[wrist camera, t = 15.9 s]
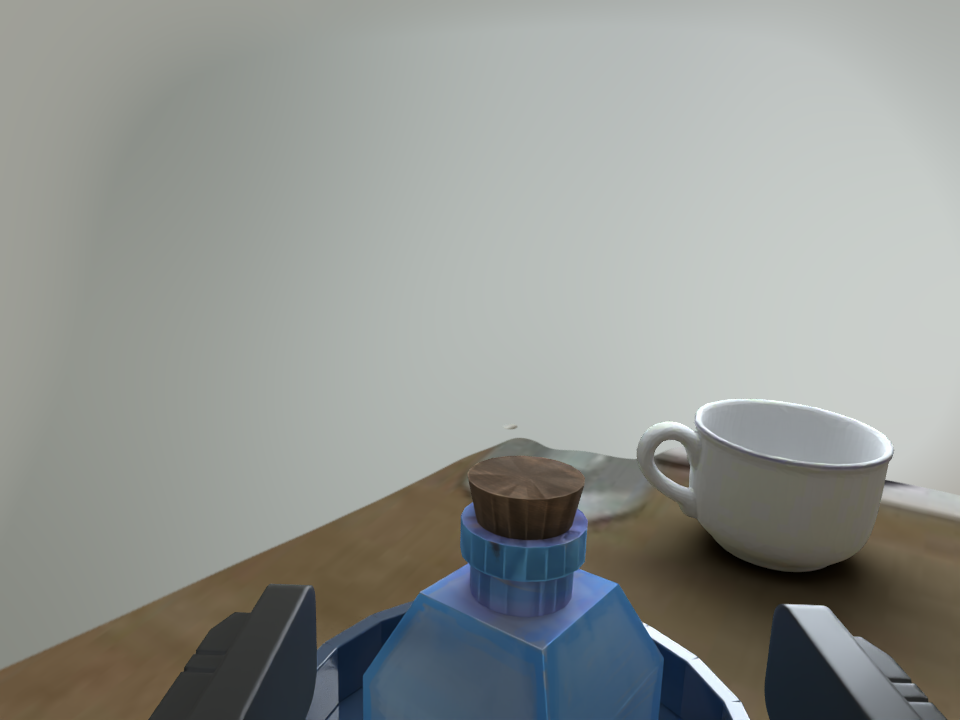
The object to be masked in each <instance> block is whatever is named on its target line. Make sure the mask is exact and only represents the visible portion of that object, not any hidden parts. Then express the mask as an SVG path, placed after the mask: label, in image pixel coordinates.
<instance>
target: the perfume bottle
mask: <svg viewBox="0 0 960 720" xmlns="http://www.w3.org/2000/svg"><path fill="white" fill-rule="evenodd" d="M467 474H468V479H469V485H470V490H471V495H472V500H473V502H472V503H471V504H470V505H468V506H467V507H465V509H464V511H463V513H462V515H461V541H460V548H461V553H462V557H463V558H464V559H465V560H466V561H467V562H468V564H466V565H465V566H463V567H461V568H460V569H458V570H456V571H455V572H453V573H451V574H450V575H448V576H446V577H445V578H443V579H441V580H440V581H438V582H436V583H435V584H433V585H431V586H430V587H428V588H426V589H425V590H423V591H421V592H420V593H419V594H418V596H417V597H416V599H415V600H414V602H413V603H412V605H411V606H410V608H409V609H408V611H407V612H406V613H405V615H404V616H403V618H402V619H401V621H400V622H399V624H398V625H397V627H396V628H395V630H394V631H393V632H392V634H391V635H390V637H389V638H388V640H387V641H386V643H385V644H384V646H383V647H382V649H381V650H380V651H379V653H378V654H377V656H376V657H375V659H374V660H373V662H372V663H371V665H370V666H369V667H368V669H367V670H366V672H365V673H364V675H363V720H658V718H659V707H660V696H661V685H662V674H663V664H664V658H663V656H662V655H661V653H660V651H659V650H658V648H657V646H656V645H655V643H654V641H653V640H652V638H651V636H650V635H649V633H648V632H647V630H646V628H645V627H644V625H643V623H642V622H641V620H640V618H639V617H638V615H637V613H636V612H635V610H634V608H633V607H632V605H631V604H630V602H629V600H628V599H627V597H626V595H625V594H624V592H623V590H622V589H621V587H620V585H619V584H617V583H615V582H612V581H609V580H607V579H604V578H601V577H599V576H596V575H593V574H591V573H588V572H585V571H583V570H580V569H579V568H580V567H581V565H582V564H583V563H584V562H585V553H586V537H587V522H588V520H587V519H586V517H585V516H584V514H583V513H582V512H581V511H580V510H579V509H577V508H578V504H579V501H580V497H581V494H582V491H583V487H584V482H585V477H584V476H583V475H582V473H581V472H580V471H579V470H577V469H575V468H574V467H572V466H571V465H568V464H565V463H562V462H559V461H556V460H552V459H547V458H542V457H531V456H505V457H498V458H491V459H488V460H485V461H481V462H479V463H477V464H476V465H474V466H472V467H471V468H470V470H469V472H468V473H467Z"/></svg>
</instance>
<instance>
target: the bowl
mask: <svg viewBox="0 0 960 720" xmlns="http://www.w3.org/2000/svg"><path fill="white" fill-rule="evenodd" d="M413 602H414V601H411V602H408V603H405V604H402V605H399V606H396V607H393V608H390V609H387V610H384V611H381V612H378V613H375V614H373V615H370V616H368V617H367V618H365V619H363V620H362V621H360V622H358V623H357V624H355V625H353V626H351V627H350V628H348V629H346V630H345V631H343V632H341V633H340V634H338V635H336V636H335V637H333V638H331V639H330V640H328V641H326V642H325V643H324V644H322V645H321V647H320V648H319V649H318V650H317V675H316V684H315V690H314V695H313V699H312V703H311V706H310V709H309V711H308V714H307V717H306V719H305V720H363V675H364V673H365V672H366V670H367V669H368V667H369V666H370V665H371V663H372V662H373V660H374V659H375V657H376V656H377V654H378V653H379V651H380V650H381V649H382V647H383V646H384V644H385V643H386V641H387V640H388V638H389V637H390V635H391V634H392V632H393V631H394V630H395V628H396V627H397V625H398V624H399V622H400V621H401V619H402V618H403V616H404V615H405V613H406V612H407V611H408V609H409V608H410V606H411V605H412V603H413ZM642 623H643V622H642ZM643 625H644V627H645V628H646V630H647V632H648V633H649V635H650V636H651V638H652V640H653V641H654V643H655V645H656V646H657V648H658V650H659V651H660V653H661V655H662V656H663V658H664V664H663V674H662V685H661V696H660V707H659V718H658V720H750V718H749V716H748V714H747V712H746V710H745V708H744V706H743V704H742V703H741V701H740V700H739V699H738V698H737V697H736V696H735V695H734V694H733V692H732V691H731V690H730V689H729V688H728V687H727V686H726V685H725V684H724V683H723V682H722V681H721V680H720V679H719V678H718V677H717V676H716V675H715V674H714V673H713V672H712V671H711V669H710V668H709V667H708V666H707V665H706V664H705V663H704V662H703V661H702V660H701V659H699V658H698V656H696V655H694V654H693V653H691V652H690V651H688V650H687V649H685V648H684V647H682V646H680V645H679V644H677V643H676V642H674V641H673V640H671V639H670V638H668V637H666V636H665V635H663V634H662V633H660V632H659V631H657V630H656V629H654V628H653V627H651V626H648V624H645V623H643Z"/></svg>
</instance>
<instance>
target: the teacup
mask: <svg viewBox="0 0 960 720" xmlns="http://www.w3.org/2000/svg"><path fill="white" fill-rule="evenodd" d="M695 425H696V429H695V432H694V431H692V430H691V429H690V428H688V427H687V426H685V425H682V424H680V423H676V422H660V423H658V424H656V425H654V426H652V427H650V428H649V429H648V430H647V431H646V432H645V433H644V434H643V436H642V437H641V439H640V442H639V444H638V448H637V461H638V464H639V467H640V470H641V471H642V473H643V475H644V476H645V478H646V479H647V480H648V481H649V483H650V484H651V485H653V486H654V487H655V488H656V489H657V490H658V491H660V492H661V493H663V494H664V495H665V496H667V497H669V498H670V499H672V500H674V501H676V502H677V503H678V504H679V506H680V509H681V510H682V512H683V513H684V514H685V515H687V516H689V517H693V518H697V519H698V521H699V522H700V524H701V525H702V526H703V527H704V528H705V529H706V530H707V532H708V533H710V534H711V535H712V536H713V538H714V539H715V540H716V542H717V543H719V544H720V545H721V546H722V547H723V548H724V549H725V550H727V551H728V552H730V553H731V554H733V555H734V556H736V557H738V558H740V559H742V560H744V561H747V562H749V563H752V564H754V565H757V566H761V567H765V568H769V569H773V570H779V571H785V572H808V571H813V570H818V569H822V568H824V567H827V566H828V565H831V564H834V563H838V562H841V561H843V560H846V559H848V558H850V557H851V556H853V555H855V554H856V553H857V552H858V551H860V550H861V548H862V547H863V546H864V545H865V544H866V542H867V540H868V538H869V536H870V535H871V532H872V530H873V527H874V524H875V521H876V517H877V514H878V509H879V505H880V501H881V497H882V492H883V488H884V483H885V477H886V473H887V468H888V463H889V461H890V460H891V459H892V456H893V453H894V449H893V446H892V443H891V442H890V441H889V440H888V438H887V437H886V436H885V435H884V434H883V433H881V432H879V431H877V430H876V429H874V428H872V427H871V426H869V425H867V424H865V423H862V422H860V421H858V420H855V419H852V418H850V417H847V416H843V415H841V414H838V413H834V412H830V411H826V410H823V409H819V408H815V407H810V406H805V405H800V404H795V403H787V402H780V401H771V400H759V399H735V400H723V401H717V402H713V403H709V404H706V405H704V406H703V407H701V408H699V409H698V411H697V412H696V414H695ZM666 440H676V441H679V442H681V443H682V444H683V446H684V447H685V449H686V453H687V459H688V462H689V463H690V465H691V467H690V479H689V488H686V487H683V486H681V485H679V484H677V483H675V482H673V481H671V480H670V479H668V478H667V477H665V476H664V475H663V474H662V473H661V472H660V471H659V470H658V468H657V467H656V465H655V463H654V459H653V458H654V452H655V450H656V448H657V447H658V446H659V444H660V443H661V442H663V441H666Z"/></svg>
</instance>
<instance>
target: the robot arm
mask: <svg viewBox="0 0 960 720" xmlns="http://www.w3.org/2000/svg"><path fill="white" fill-rule="evenodd" d="M316 675H317V644H316V601H315V591H314V588H313V586H311V585H286V584H269V585H268V586H267V587H266V589H265V591H264V592H263V594H262V595H261V597H260V599H259V600H258V602H257V604H256V605H255V607H254V608H253V610H252V612H251V613H239V612H235V613H233V614H232V615H230V616H229V617H227V618H226V619H225V620H223V621H222V622H220V623H219V624H218V625H216V626H215V627H213V628H212V629H211V630H210V631H209V632H208V634H207V635H206V637H205V638H204V640H203V641H202V643H201V644H200V646H199V647H198V648H197V650H196V654H193V656H192V657H191V659H190V660H189V661H188V663H187V664H186V666H185V667H184V672H181V673H180V675H179V676H178V677H177V679H176V680H175V682H174V683H173V685H172V686H171V688H170V689H169V690H168V692H167V693H166V695H165V696H164V698H163V699H162V701H161V702H160V704H159V705H158V706H157V708H156V709H155V711H154V712H153V714H152V715H151V717H150V718H149V719H148V720H305V719H306V717H307V714H308V711H309V709H310V706H311V703H312V699H313V695H314V690H315V684H316ZM765 702H766V708H767V712H768V715H769V719H770V720H947V719H946V718H945V717H944V716H943V714H942V713H941V712H940V711H939V710H938V709H937V708H936V707H935V705H934V704H933V703H929V702H928V698H927V696H926V695H925V694H924V693H923V692H922V691H921V690H920V689H919V688H918V686H917V685H916V684H912V683H911V679H910V677H909V676H908V675H907V674H906V673H905V672H904V671H903V670H902V668H901V667H900V666H899V665H898V664H897V663H896V662H895V661H894V660H893V658H892V657H891V656H889V655H888V654H886V653H885V652H883V651H882V650H880V649H879V648H877V647H876V646H874V645H873V644H871V643H870V642H868V641H867V640H865V639H863V638H862V637H853V636H852V635H851V634H850V633H849V631H848V630H847V629H846V628H845V627H844V625H843V624H842V623H841V622H840V621H839V620H838V618H837V617H836V616H835V615H834V614H833V612H832V611H831V610H830V609H829V608H828V607H826V606H823V605H798V604H779V605H778V606H777V607H776V609H775V611H774V615H773V621H772V629H771V637H770V645H769V653H768V661H767V669H766V677H765Z"/></svg>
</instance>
